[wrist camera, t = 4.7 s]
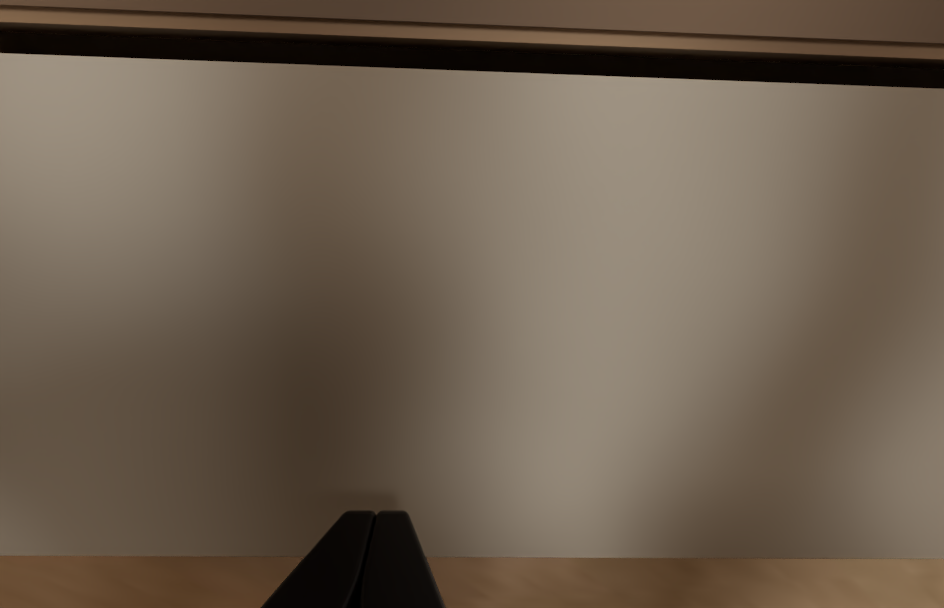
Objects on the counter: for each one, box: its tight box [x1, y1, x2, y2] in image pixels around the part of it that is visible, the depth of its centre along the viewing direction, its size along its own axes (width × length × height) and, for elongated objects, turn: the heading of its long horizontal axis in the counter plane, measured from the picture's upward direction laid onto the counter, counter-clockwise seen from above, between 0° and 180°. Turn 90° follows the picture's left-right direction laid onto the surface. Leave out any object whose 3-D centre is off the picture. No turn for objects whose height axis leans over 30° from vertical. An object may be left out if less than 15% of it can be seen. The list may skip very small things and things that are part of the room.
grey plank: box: [0, 53, 944, 559], centre depth 8 cm, size 22×7×2 cm, turn 88°
